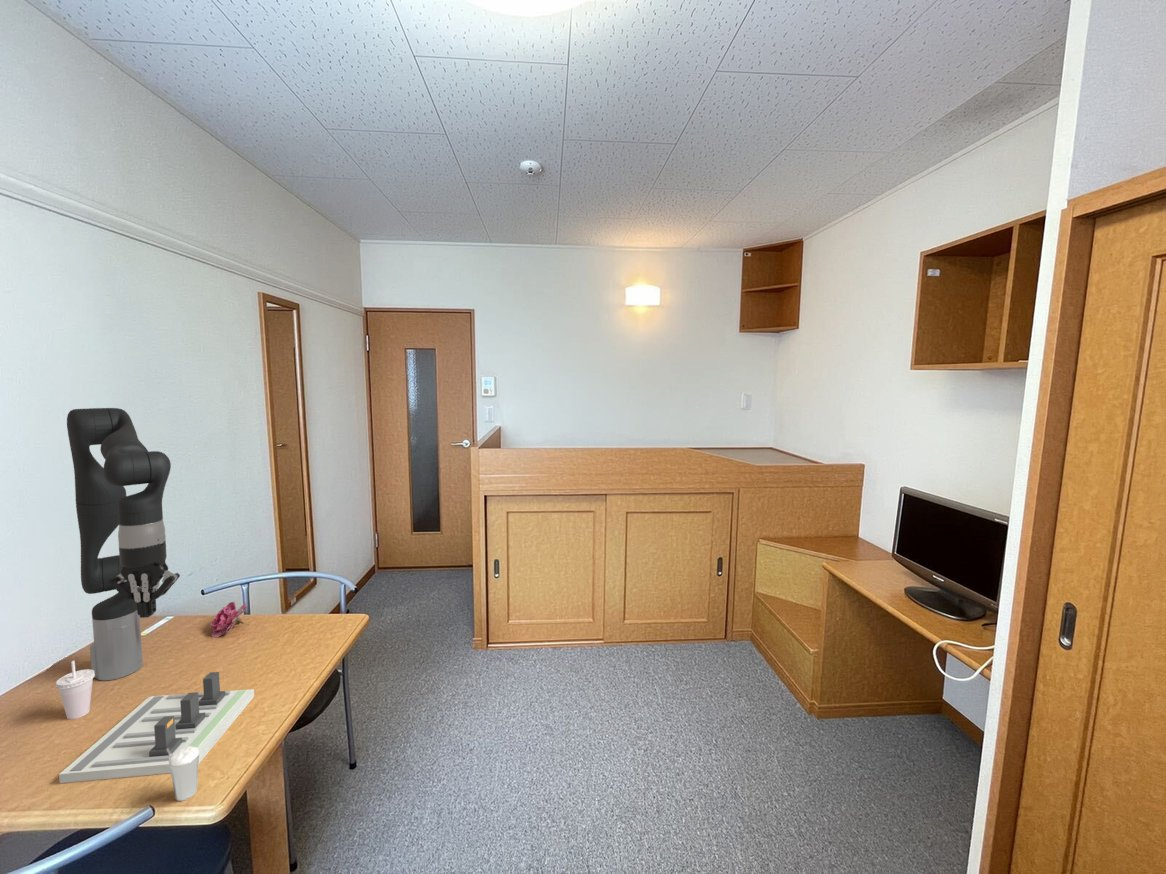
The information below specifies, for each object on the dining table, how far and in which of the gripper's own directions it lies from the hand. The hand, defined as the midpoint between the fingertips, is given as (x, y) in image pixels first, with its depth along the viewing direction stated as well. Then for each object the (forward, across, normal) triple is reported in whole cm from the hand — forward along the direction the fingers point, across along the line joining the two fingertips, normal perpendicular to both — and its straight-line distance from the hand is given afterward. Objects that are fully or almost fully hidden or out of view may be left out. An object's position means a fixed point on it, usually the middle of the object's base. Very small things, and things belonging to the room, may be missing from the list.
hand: (147, 615), depth 103 cm
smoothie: (+29, -23, +10) cm, 38 cm away
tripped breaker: (+27, +8, -8) cm, 29 cm away
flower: (+29, -11, +48) cm, 58 cm away
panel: (+29, +3, 0) cm, 29 cm away
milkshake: (+29, +17, -18) cm, 38 cm away
